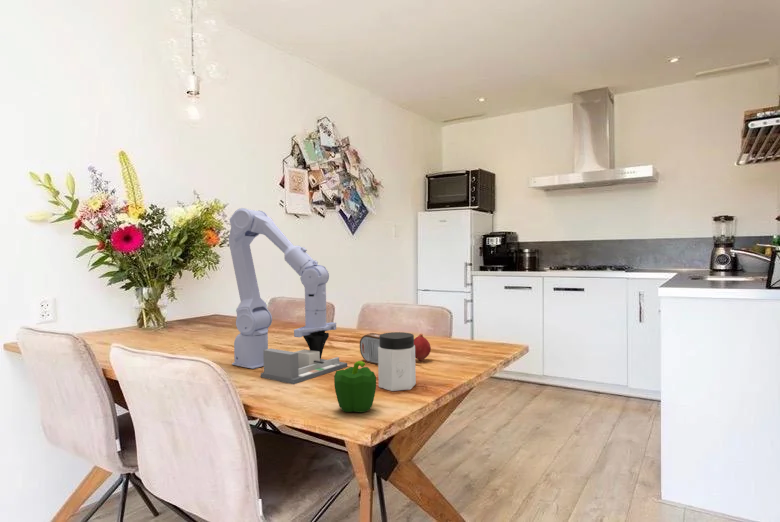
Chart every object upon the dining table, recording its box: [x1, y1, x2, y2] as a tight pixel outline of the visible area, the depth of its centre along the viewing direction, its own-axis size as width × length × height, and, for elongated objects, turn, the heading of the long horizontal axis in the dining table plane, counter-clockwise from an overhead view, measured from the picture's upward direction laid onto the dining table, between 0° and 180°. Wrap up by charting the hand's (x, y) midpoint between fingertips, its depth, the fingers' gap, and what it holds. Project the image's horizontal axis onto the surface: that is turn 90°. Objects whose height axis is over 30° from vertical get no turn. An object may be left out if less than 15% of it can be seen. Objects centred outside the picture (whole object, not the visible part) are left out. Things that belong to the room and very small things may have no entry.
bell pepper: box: [333, 360, 377, 413], centre depth 93 cm, size 8×8×10 cm
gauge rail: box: [260, 348, 348, 385], centre depth 123 cm, size 12×20×7 cm, turn 145°
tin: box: [359, 332, 382, 366], centre depth 130 cm, size 15×3×8 cm, turn 45°
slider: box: [295, 349, 324, 368], centre depth 123 cm, size 9×4×4 cm, turn 55°
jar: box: [377, 331, 417, 392], centre depth 109 cm, size 9×8×12 cm
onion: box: [414, 333, 432, 362], centre depth 133 cm, size 6×6×8 cm
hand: (316, 359), depth 126 cm, fingers closed
